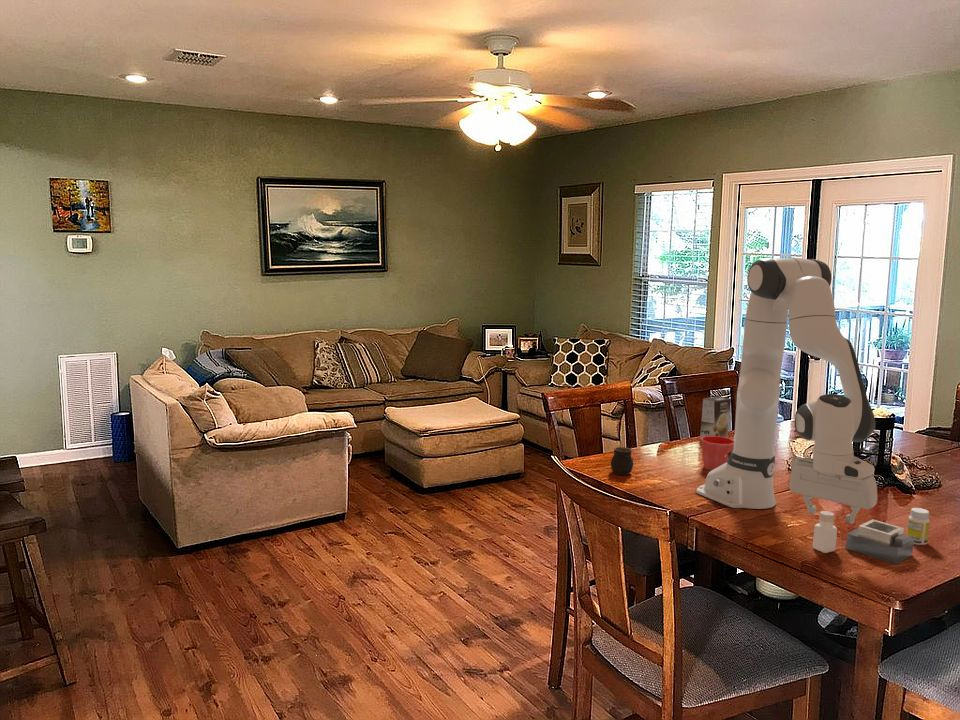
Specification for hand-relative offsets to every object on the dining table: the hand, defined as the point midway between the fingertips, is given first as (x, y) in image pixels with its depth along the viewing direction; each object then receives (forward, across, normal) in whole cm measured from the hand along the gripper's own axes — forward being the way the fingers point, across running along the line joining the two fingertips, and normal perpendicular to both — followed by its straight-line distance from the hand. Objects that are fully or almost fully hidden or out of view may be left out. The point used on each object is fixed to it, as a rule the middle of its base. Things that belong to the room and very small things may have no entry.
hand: (830, 517), depth 191 cm
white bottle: (+9, -1, 0) cm, 9 cm away
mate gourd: (+6, -72, +10) cm, 73 cm away
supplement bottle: (+10, +11, +24) cm, 29 cm away
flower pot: (+7, -57, +40) cm, 70 cm away
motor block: (+9, +8, +10) cm, 15 cm away
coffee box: (+7, -78, +71) cm, 106 cm away
